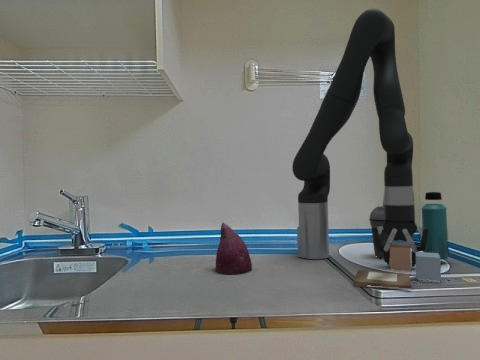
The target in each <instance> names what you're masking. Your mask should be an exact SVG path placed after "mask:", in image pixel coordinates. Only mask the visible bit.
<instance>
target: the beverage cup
mask: <svg viewBox="0 0 480 360" xmlns="http://www.w3.org/2000/svg"><path fill="white" fill-rule="evenodd" d="M368 220H369V224H370V226H371V234H372V235H371V236H372V244H373V250H374V257H375V256H377V257H381V258H380V259H382V258H384V251H383V250H382V249H378V248H377V246H376V242H375V237H374V233H373V227H374V226H383V224H384V222H385V219H384V197H383V199H382V206H376V207H374V208H373V209H372V210H371V212H370V215H369V219H368ZM379 235H380V239H381V244H384V245H385V244H386V241H387V239H388V237H389V236H388V234H387V233H386V232H385V231H384V229H383V230H382V232H381V234H379ZM391 244H393V242H392V243H391ZM389 251H390V247H389Z"/></svg>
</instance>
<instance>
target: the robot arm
mask: <svg viewBox="0 0 480 360" xmlns="http://www.w3.org/2000/svg"><path fill="white" fill-rule="evenodd" d="M395 30H396V29H395V23H394V22H393V20H392V19H391V18H390V17H388V15H387V14H386V13H384V12H383V11H382V10H380V9H378V8H368V9H366V10H365V11H363V12H361V14H360V15H359V16H358V17H357V19H356V20H355V21H354V23H353V27H352V30H351V31H350V34H349V37H348V40H347V44H346V45H345V50H344V52H343V55H342V57H341V60H340V62H339V64H338V67H337V69H336V71H335V73H334V75H333V78H332V80H331V83H330V85H329V87H328V89H327V92H326V93H325V95H324V97H323V99H322V101H321V104H320V106H319V109H318V112H317V114H316V117H315V118H314V119H313V120H314V121H313V122H312V125H311V127H310V129H309V131H308V134H307V135H306V137H305V139H304V141H303V142H302V144H301V145H300V148H299V149H298V151H297V153H296V154H295V156H294V157H293V158H294V159H293V161H292V166H291V167H292V170H291V171H292V173H293V175H294V177H295V178H296V179H297V180H299V181H303V188H302V189H301V191H300V192H299V193H298V195H297V206H298V208H297V210H298V211H297V212H298V213H297V214H298V226H297V227H296V232H297V233H296V234H297V235H296V236H297V238H296V239H297V258H303V259H308V260H323V259H328V258H330V237H329V236H330V235H329V232H330V231H329V203H328V201H329V194H330V190H331V165H330V164H331V163H330V162H329V158H328V157H327V156H326V155H325V154H324V153H325V150H326V149H327V147H328V145H329V143H330V142H331V140H332V139H333V138H334V137H335V136H336V135H337V134H338V133H339V132H340V130H342V129H343V127H344V126H345V125H346V124H347V123H348V121H349V119H350V118H351V116H352V114H353V112H354V110H355V108H356V105H357V103H358V101H359V98H360V95H361V90H362V86H363V85H362V84H363V79H364V78H363V77H364V72H365V69H366V66H367V63H368V61H369V60H370V59H371V62H372V68H373V98H374V104H375V110H376V115H377V117H378V132H379V141H380V144H381V148H382V150H384V151H385V152H386V166H385V167H384V172H383V173H384V174H383V175H384V176H383V180H384V181H383V184H384V188H383V190H384V191H383V198H384V219H385V222H384V224H383V226H374V227H373V233H374V237H375V242H376V246H377V248H378V249H382V250H383V251H384V259H383V262H384V263H386V265H387V266H390V251H389V247H390V245H391V243H392V244H393V241H394V242H395V241H401V242H407V243H408V245H410V248H411V268H412V267H413V268H414V267H415V268H416V253H415V252H423V251H424V250H425V247H426V241H427V236H428V229H427V228H426V227H424V228H422V226H417V224H416V217H415V216H416V214H415V213H416V212H415V202H416V201H415V200H416V199H415V191H414V183H413V180H414V178H413V175H414V174H413V166H412V165H413V157H414V156H413V155H414V140H413V137H412V135H411V134H410V132H408V127H407V123H406V117H405V115H406V108H405V102H404V97H403V92H402V88H401V83H400V82H401V81H400V79H399V78H400V77H399V72H398V65H397V58H396V57H397V56H396V33H395V32H396V31H395ZM383 229H384V231H385V232H386V233H387V234H388V236H389V237H388V239H387V241H386V244H385V245H384V244H381V239H380V235H379V234H381V232H382V230H383ZM416 232H418V235H419V236H421V237H420V242H419V245H416V243H415V241H414V239H413V236H414V234H415V233H416Z"/></svg>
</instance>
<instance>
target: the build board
mask: <svg viewBox="0 0 480 360" xmlns="http://www.w3.org/2000/svg"><path fill="white" fill-rule="evenodd" d="M367 285H371V286H383V287H399V288H411V287H412V285H411V274H410V273H401V272H391V271H390V272H389V271H388V272H387V271H374V270H364V269H363V270H361V269H357V272H356V274H355V276H354V278H353V284H352V286H353V287H359V288H367V287H366V286H367ZM411 289H412V288H411Z"/></svg>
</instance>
